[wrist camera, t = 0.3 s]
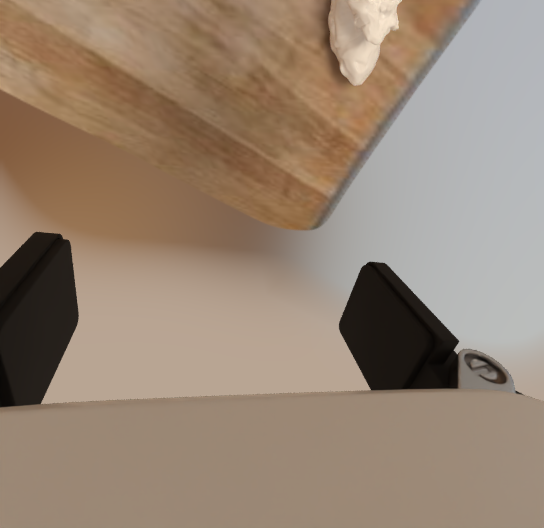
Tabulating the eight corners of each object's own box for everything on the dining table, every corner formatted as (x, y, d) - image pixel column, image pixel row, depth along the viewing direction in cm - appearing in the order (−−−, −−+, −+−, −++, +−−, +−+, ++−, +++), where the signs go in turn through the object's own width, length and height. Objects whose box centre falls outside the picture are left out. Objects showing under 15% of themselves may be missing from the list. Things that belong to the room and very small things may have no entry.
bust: (357, -54, 32) (321, -119, 23) (436, -53, 30) (432, -124, 20) (328, 82, 38) (291, 73, 29) (392, 92, 36) (374, 87, 26)
